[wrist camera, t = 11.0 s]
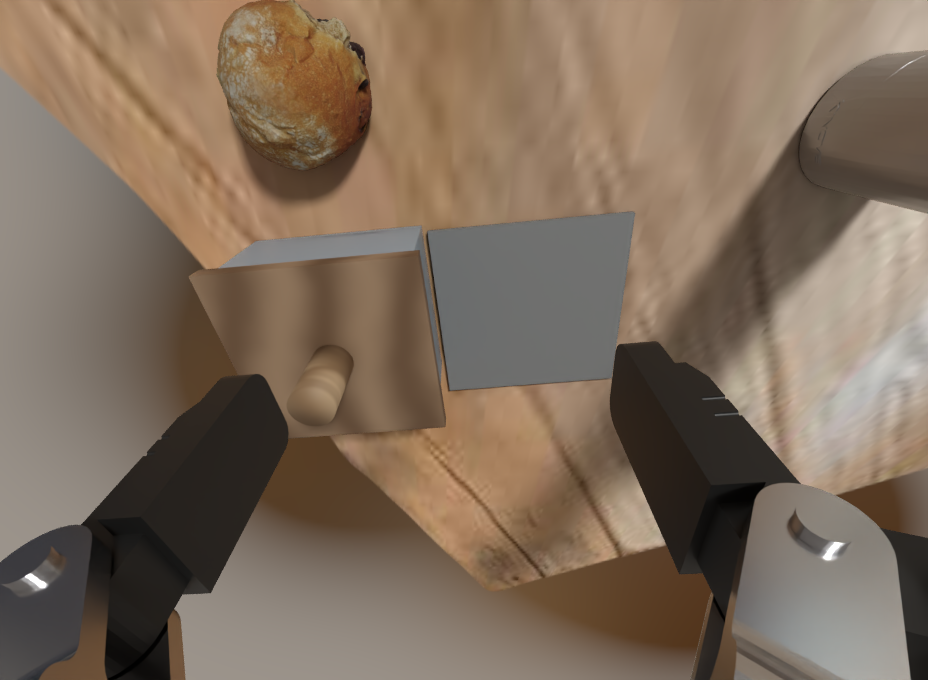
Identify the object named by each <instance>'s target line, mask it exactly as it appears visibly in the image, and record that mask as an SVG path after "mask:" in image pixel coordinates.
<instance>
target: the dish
mask: <svg viewBox="0 0 928 680" xmlns="http://www.w3.org/2000/svg"><path fill="white" fill-rule="evenodd" d="M414 250H420V256H421V262H422V269H423V275H424V281H425V288H426V294H427V301H428V307H429V313H430V320H431V326H432V333H433V339H434V345H435V352H436V358H437V365H438V371H439V377H440V384H441V370H442V360H441V354H440V347H439V340H438V333H437V327H436V320H435V313H434V306H433V300H432V293H431V286H430V280H429V273H428V266H427V259H426V253H425V246H424V239H423V233H422V226H412V227H401V228H390V229H380V230H369V231H359V232H348V233H337V234H327V235H316V236H305V237H295V238H284V239H274V240H263V241H255V242H254V243H253V244H251V245H250V246H248V247H247V248H246V249H244V250H243V251H241V252H240V253H239V254H237V255H236V256H235V257H233V258H232V259H230V260H229V261H228V262H226V263H225V264H223V265H222V266H221V267H219V268H228V267H239V266H250V265H261V264H272V263H282V262H293V261H304V260H315V259H326V258H337V257H348V256H359V255H370V254H381V253H392V252H403V251H414Z"/></svg>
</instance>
